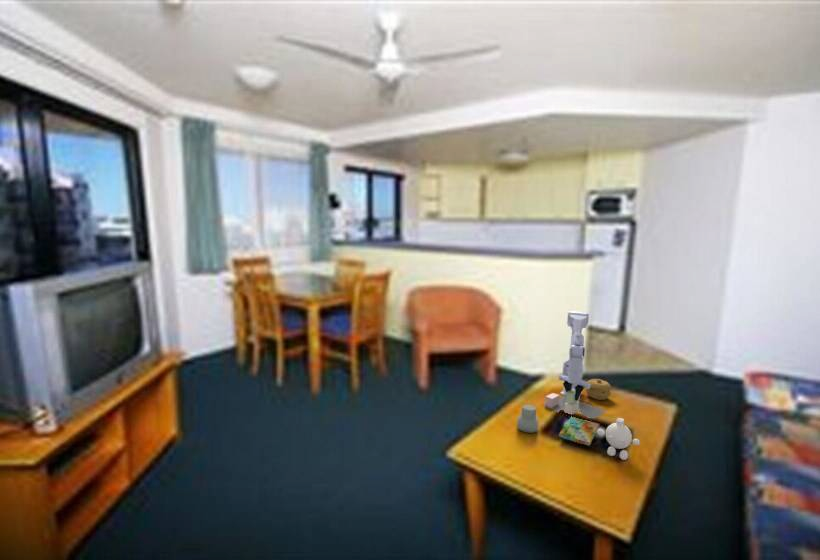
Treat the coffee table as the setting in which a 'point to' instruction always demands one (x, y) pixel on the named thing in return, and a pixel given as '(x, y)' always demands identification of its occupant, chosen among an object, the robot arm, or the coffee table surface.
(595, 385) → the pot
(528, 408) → the air freshener
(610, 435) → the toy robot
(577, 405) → the cream brick
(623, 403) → the coffee table surface
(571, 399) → the sage brick
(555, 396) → the rose brick
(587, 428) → the puzzle game
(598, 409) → the mat
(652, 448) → the coffee table surface
